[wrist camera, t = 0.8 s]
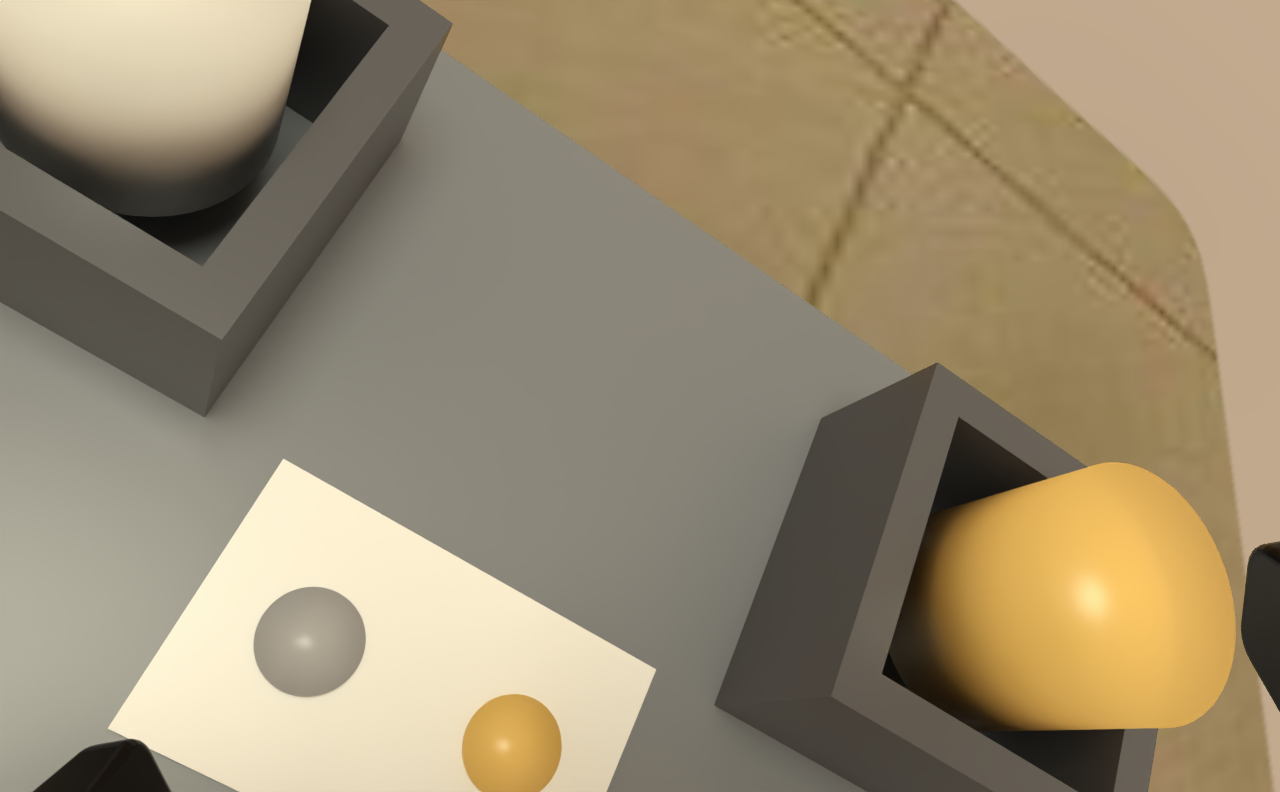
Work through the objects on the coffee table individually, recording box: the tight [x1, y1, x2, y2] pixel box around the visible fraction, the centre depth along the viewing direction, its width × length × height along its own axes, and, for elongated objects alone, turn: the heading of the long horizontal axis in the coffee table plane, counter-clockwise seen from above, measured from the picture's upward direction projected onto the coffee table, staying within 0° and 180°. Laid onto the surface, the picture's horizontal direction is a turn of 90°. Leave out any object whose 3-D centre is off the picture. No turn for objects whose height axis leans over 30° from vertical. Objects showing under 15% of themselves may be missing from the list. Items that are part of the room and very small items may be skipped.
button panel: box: [0, 0, 1158, 792], centre depth 19 cm, size 16×28×6 cm, turn 65°
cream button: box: [0, 0, 311, 217], centre depth 15 cm, size 4×4×4 cm
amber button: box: [889, 462, 1236, 732], centre depth 19 cm, size 4×4×4 cm
